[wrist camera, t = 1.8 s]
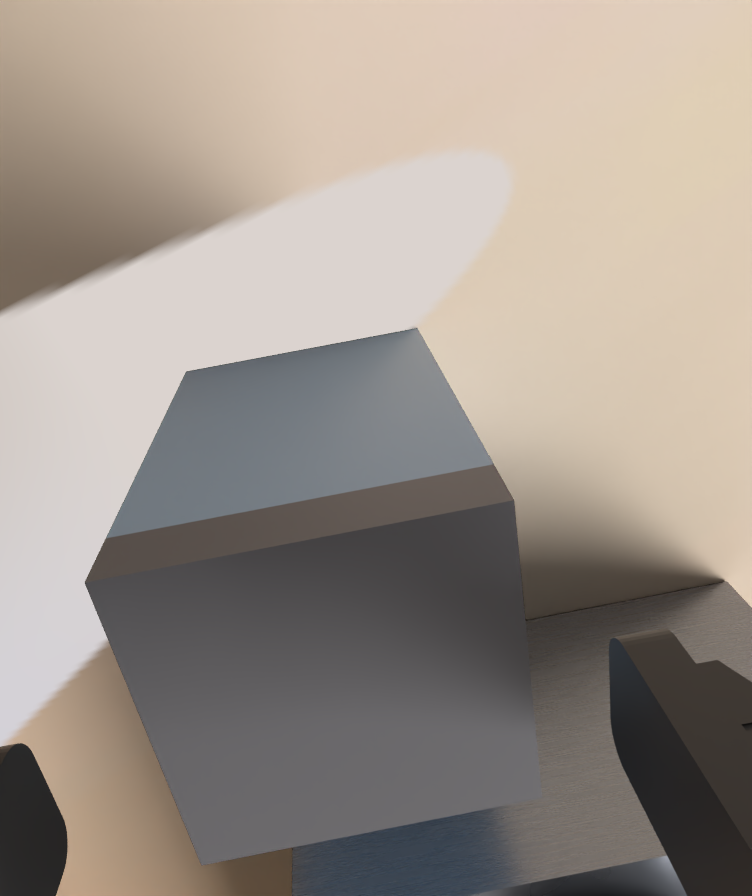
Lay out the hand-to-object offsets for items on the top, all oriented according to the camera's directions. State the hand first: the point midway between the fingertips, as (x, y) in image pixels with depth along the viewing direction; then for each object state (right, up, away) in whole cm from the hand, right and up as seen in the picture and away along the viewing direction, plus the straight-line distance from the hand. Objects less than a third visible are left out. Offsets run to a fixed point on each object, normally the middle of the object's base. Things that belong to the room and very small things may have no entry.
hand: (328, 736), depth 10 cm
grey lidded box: (-1, +4, +7) cm, 8 cm away
